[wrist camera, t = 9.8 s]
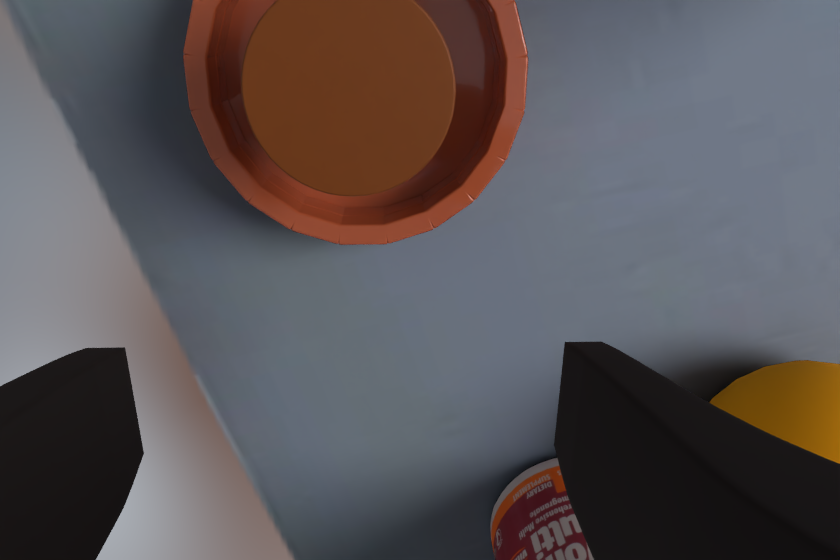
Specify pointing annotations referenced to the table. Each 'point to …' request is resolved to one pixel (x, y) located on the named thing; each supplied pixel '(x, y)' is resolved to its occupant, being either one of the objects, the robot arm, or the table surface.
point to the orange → (790, 404)
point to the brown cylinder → (348, 92)
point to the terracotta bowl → (404, 204)
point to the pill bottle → (537, 519)
